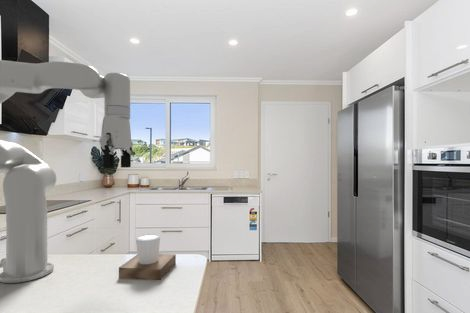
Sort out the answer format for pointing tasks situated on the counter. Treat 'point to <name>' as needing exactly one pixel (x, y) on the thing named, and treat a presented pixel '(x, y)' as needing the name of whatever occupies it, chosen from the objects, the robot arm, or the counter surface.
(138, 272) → the walnut base
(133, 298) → the counter surface
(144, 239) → the white and grey cylinder
